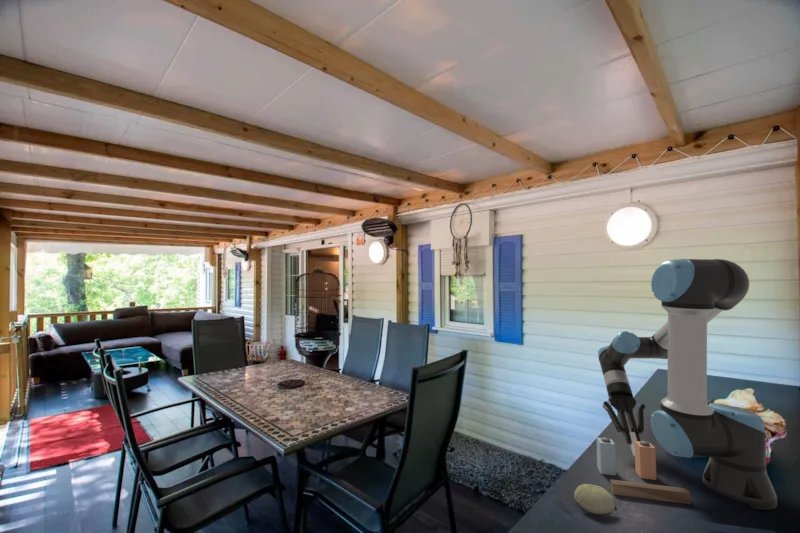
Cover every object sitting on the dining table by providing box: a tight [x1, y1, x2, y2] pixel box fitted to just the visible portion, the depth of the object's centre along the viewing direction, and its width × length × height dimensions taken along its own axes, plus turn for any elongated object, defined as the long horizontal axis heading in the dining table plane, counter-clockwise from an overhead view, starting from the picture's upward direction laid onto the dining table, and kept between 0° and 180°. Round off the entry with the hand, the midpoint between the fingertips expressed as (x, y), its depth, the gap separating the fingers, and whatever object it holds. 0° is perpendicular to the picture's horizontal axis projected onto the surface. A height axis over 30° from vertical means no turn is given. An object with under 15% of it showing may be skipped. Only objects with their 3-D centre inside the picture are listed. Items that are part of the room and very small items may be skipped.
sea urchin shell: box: [573, 483, 616, 515], centre depth 95 cm, size 9×8×8 cm
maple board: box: [609, 479, 691, 505], centre depth 104 cm, size 16×18×4 cm
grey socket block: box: [596, 436, 617, 476], centre depth 111 cm, size 4×4×10 cm
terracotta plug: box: [634, 440, 657, 481], centre depth 108 cm, size 4×4×10 cm
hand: (637, 454), depth 114 cm, fingers closed
